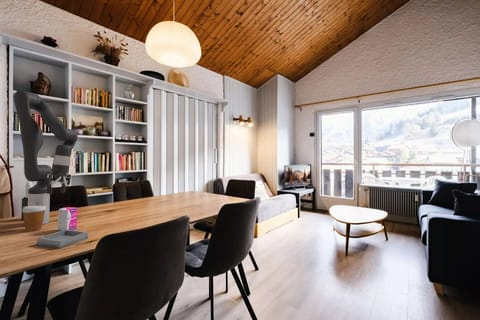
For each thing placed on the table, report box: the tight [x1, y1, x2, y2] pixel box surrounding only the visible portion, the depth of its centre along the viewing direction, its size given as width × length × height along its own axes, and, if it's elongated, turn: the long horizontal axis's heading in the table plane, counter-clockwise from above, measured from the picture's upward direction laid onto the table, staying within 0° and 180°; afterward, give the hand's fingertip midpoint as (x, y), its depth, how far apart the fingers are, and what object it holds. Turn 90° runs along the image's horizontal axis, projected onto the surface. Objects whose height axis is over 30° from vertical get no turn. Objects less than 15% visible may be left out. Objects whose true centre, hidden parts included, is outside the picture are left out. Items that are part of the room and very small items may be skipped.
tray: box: [36, 229, 89, 249], centre depth 103 cm, size 13×13×3 cm
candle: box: [20, 180, 33, 221], centre depth 137 cm, size 5×5×25 cm
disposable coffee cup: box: [21, 205, 46, 233], centre depth 118 cm, size 10×10×12 cm
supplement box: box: [57, 206, 78, 232], centre depth 119 cm, size 6×6×12 cm
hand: (55, 193), depth 125 cm, fingers open, 8 cm apart
